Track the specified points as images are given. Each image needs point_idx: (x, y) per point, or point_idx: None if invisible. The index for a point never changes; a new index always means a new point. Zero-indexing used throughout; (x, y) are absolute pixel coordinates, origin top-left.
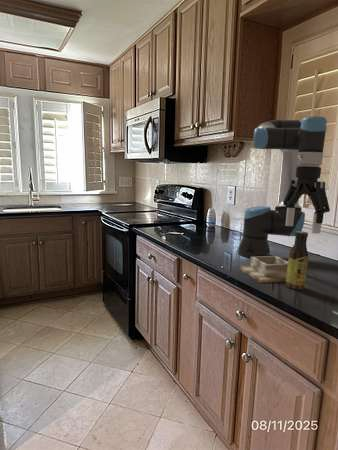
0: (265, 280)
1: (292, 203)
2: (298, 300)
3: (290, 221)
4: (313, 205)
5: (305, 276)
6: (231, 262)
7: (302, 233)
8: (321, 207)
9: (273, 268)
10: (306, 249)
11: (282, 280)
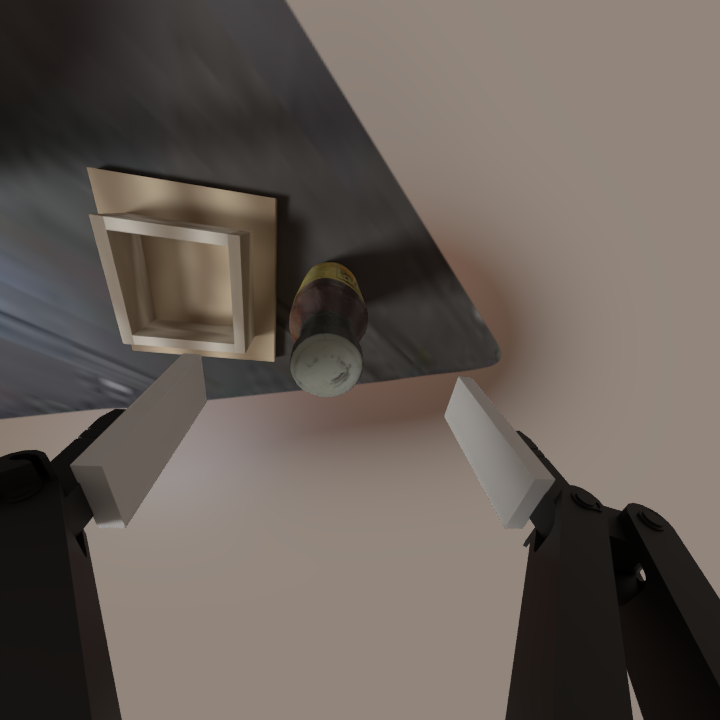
0: (274, 346)
1: (86, 569)
2: (403, 343)
3: (188, 398)
4: (525, 601)
5: (356, 282)
6: (48, 331)
7: (354, 384)
8: (620, 588)
9: (246, 321)
10: (358, 319)
11: (275, 287)
